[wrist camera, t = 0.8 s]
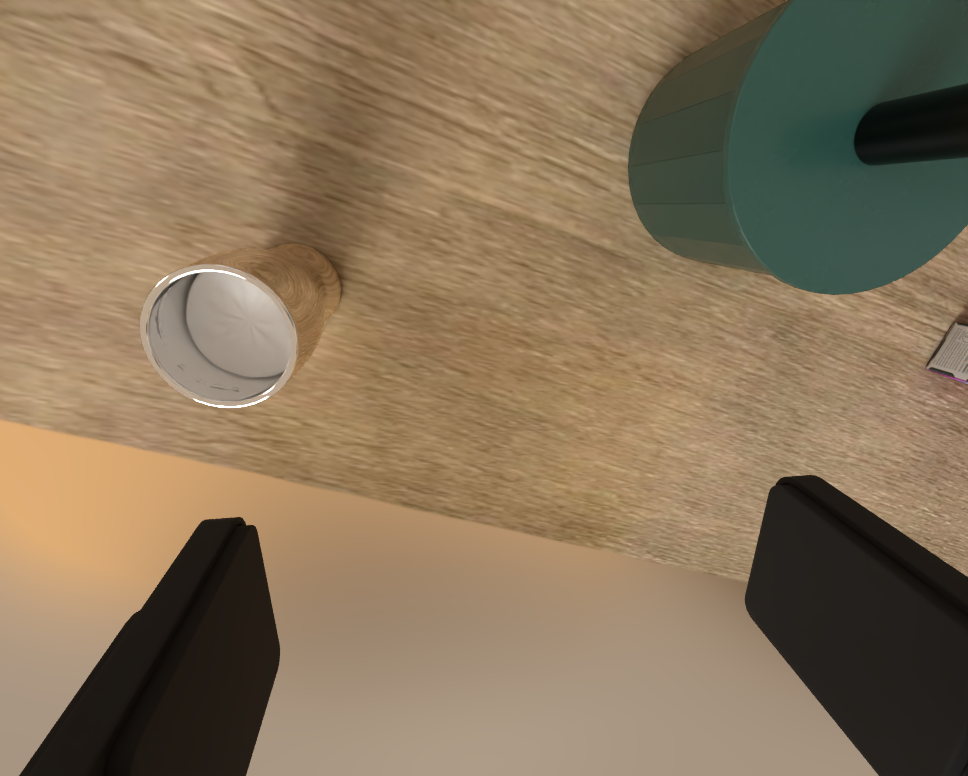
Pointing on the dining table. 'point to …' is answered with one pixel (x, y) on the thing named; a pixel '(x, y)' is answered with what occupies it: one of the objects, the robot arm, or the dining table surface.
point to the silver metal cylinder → (239, 322)
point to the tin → (692, 152)
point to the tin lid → (851, 141)
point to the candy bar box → (952, 354)
